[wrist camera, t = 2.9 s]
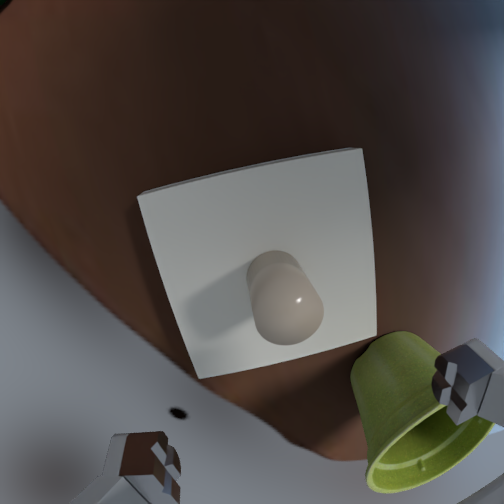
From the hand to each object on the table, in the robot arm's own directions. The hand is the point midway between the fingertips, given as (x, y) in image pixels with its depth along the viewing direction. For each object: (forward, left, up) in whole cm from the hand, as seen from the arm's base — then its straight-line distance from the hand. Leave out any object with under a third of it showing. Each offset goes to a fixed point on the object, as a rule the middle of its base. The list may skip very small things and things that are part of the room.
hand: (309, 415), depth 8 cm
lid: (0, 0, -10) cm, 10 cm away
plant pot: (-8, +10, -11) cm, 16 cm away
